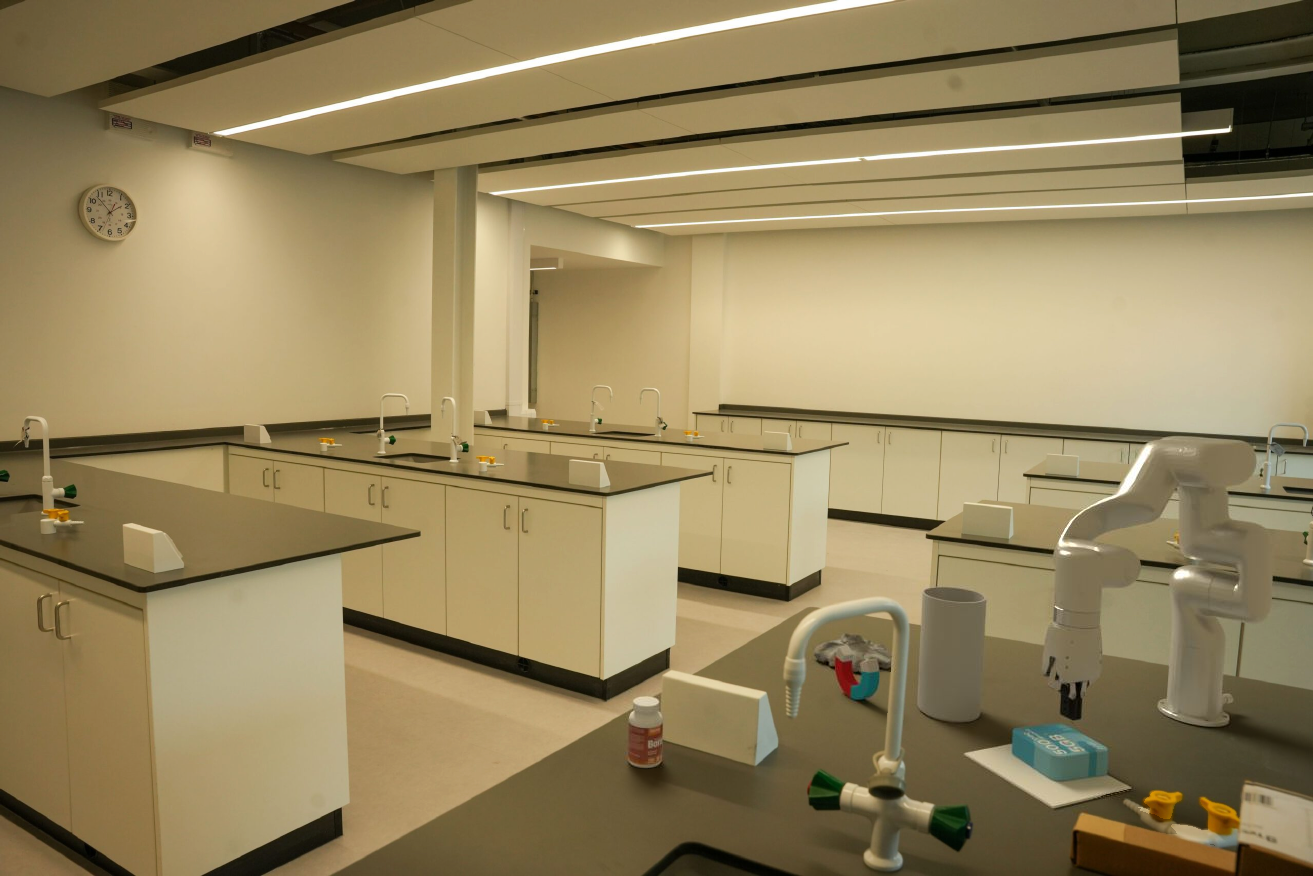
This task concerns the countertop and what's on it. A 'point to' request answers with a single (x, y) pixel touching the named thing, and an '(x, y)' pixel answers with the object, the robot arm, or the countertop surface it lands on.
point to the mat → (1043, 779)
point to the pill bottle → (645, 733)
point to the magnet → (847, 678)
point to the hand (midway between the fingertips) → (1070, 717)
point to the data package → (1060, 752)
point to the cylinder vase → (951, 653)
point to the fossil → (854, 651)
